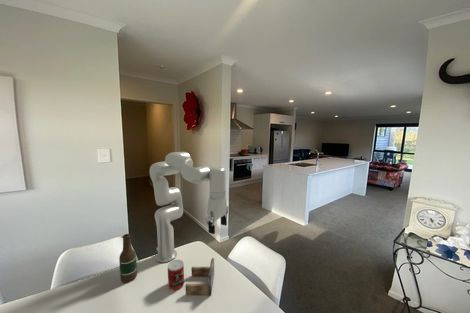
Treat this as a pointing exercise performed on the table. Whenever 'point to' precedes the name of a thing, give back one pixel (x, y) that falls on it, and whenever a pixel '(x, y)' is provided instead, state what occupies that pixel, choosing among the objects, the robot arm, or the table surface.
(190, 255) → the table surface
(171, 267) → the canned food
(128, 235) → the beer bottle
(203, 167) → the robot arm
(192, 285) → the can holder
